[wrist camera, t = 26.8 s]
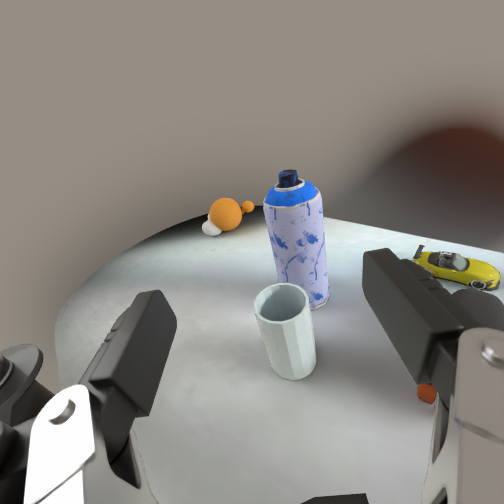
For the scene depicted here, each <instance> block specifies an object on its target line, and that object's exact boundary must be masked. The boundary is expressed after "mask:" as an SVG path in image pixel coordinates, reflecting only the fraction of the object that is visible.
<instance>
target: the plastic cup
mask: <svg viewBox="0 0 504 504" xmlns="http://www.w3.org/2000/svg"><path fill="white" fill-rule="evenodd" d="M253 307H254V312H255V316H256V319H257V322H258V325H259V328H260V331H261V335H262V338H263V341H264V344H265V347H266V350H267V353H268V357H269V360H270V363H271V366H272V368H273V369H274V371H275V372H276V373H277V374H278V375H279V376H281V377H283V378H285V379H288V380H299V379H302V378H304V377H306V376H308V375H309V374H310V373H311V372H312V371H313V369H314V368H315V365H316V347H315V340H314V333H313V325H312V318H311V311H310V303H309V297H308V295H307V294H306V292H305V290H303V289H302V288H301V287H299V286H298V285H294V284H291V283H278V284H274V285H270V286H268V287H267V288H265V289H263V290H262V291H261V292H260V293H259V294H258V295H257V296H256V297H255V300H254V304H253Z"/></svg>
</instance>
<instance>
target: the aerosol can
mask: <svg viewBox="0 0 504 504" xmlns="http://www.w3.org/2000/svg"><path fill="white" fill-rule="evenodd" d="M263 204H264V207H263V209H264V214H265V218H266V223H267V227H268V232H269V237H270V241H271V246H272V250H273V255H274V260H275V264H276V269H277V273H278V278H279V283H291V284H294V285H298V286H299V287H301V288H302V289H303V290H305V292H306V294H307V295H308V297H309V303H310V311H312V310H315V309H318V308H320V307H321V306H323V305H324V304H325V303H326V302H327V301H328V299H329V296H330V290H329V286H328V277H327V264H326V250H325V237H324V223H323V210H322V198H321V195H320V191H319V189H317V188H316V187H314V186H313V185H312V184H311V183H310V182H307V181H304V180H303V179H298V176H297V171H296V170H284V171H282V172H280V173H279V183H277V184H276V185H275V186H274V187H273V188H272V189H271V190H269V192H268V194H267V196H266V197H265V198H264V202H263Z"/></svg>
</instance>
